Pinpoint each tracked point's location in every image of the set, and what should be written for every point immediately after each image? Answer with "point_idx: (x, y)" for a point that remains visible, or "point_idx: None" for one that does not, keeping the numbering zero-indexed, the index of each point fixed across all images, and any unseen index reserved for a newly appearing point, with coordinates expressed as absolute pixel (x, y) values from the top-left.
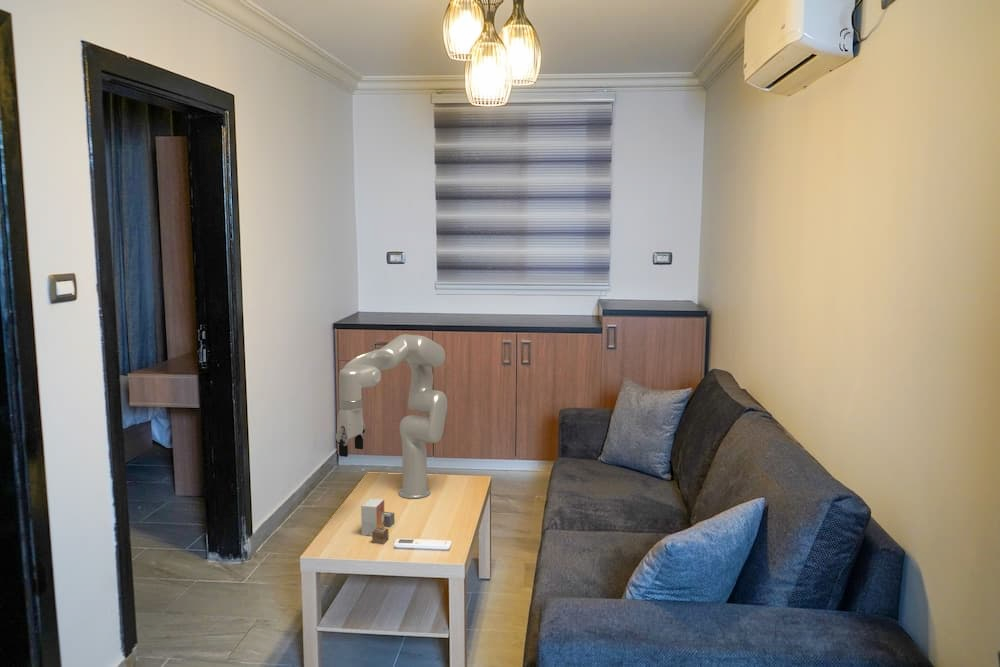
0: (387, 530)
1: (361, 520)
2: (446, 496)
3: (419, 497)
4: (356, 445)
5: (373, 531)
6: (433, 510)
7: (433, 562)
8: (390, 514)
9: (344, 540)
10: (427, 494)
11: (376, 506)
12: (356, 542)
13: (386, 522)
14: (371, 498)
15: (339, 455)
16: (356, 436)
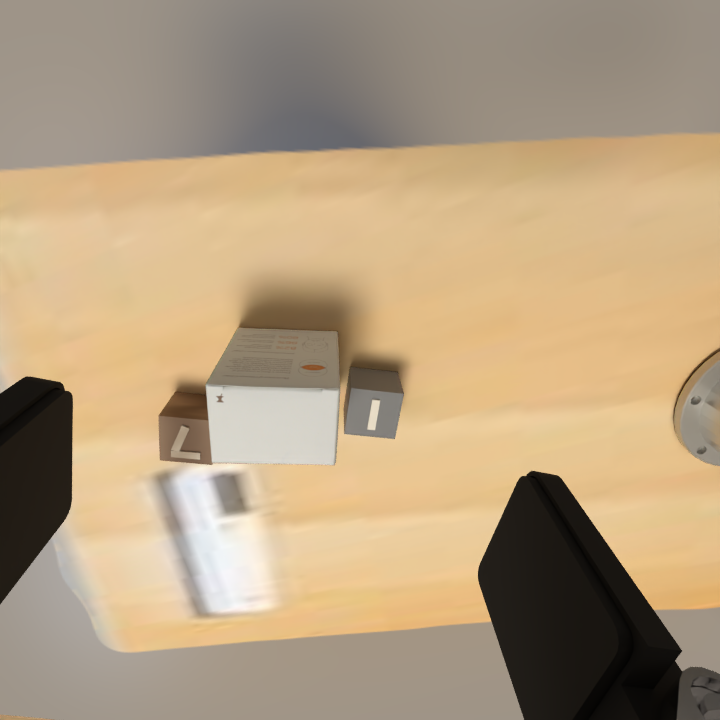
0: (203, 461)
1: (225, 350)
2: (689, 517)
3: (678, 436)
4: (530, 535)
5: (163, 419)
6: None
7: (97, 600)
8: (372, 429)
9: (161, 272)
10: (704, 461)
11: (218, 462)
12: (158, 330)
13: (345, 405)
14: (336, 401)
15: (28, 380)
16: (669, 702)
